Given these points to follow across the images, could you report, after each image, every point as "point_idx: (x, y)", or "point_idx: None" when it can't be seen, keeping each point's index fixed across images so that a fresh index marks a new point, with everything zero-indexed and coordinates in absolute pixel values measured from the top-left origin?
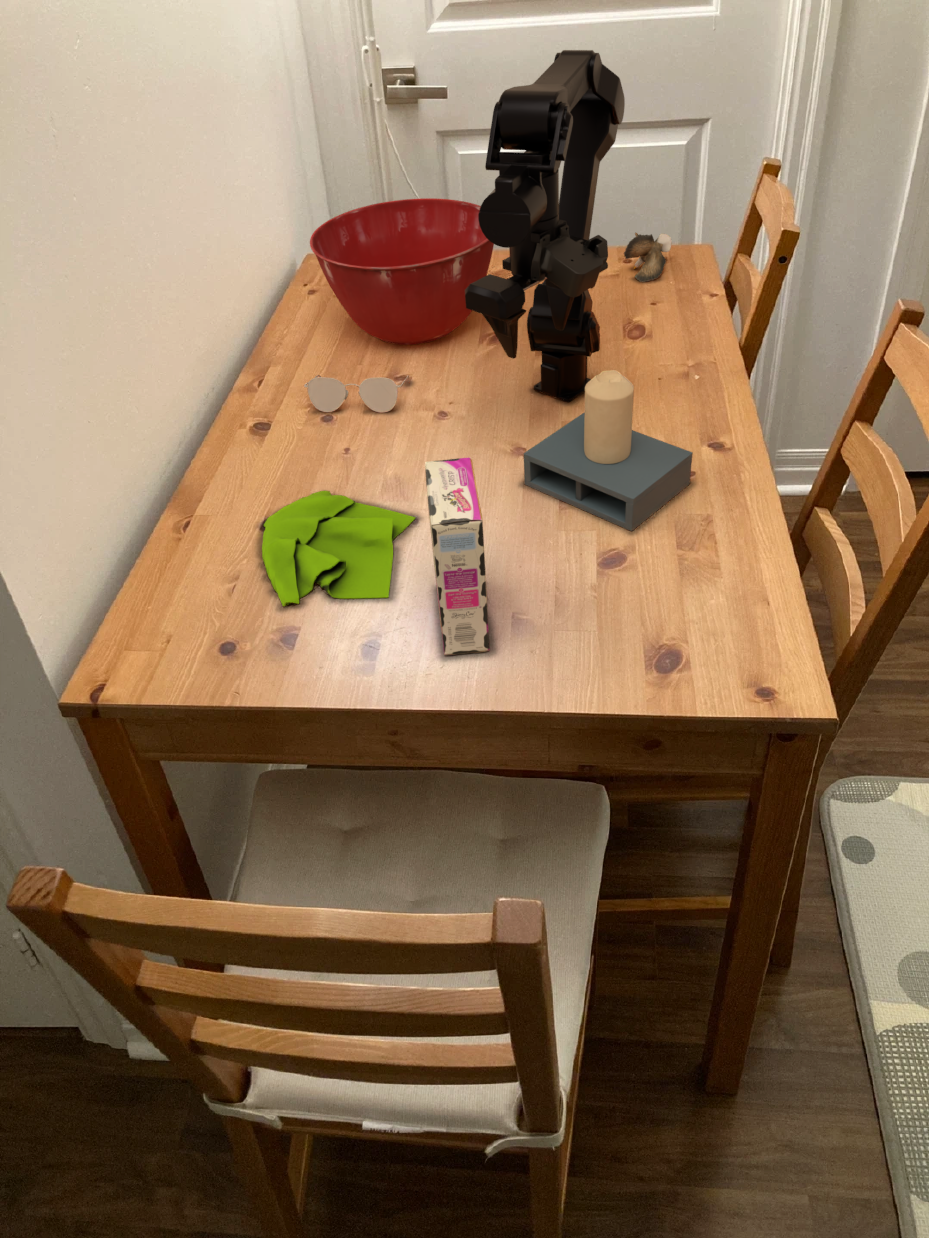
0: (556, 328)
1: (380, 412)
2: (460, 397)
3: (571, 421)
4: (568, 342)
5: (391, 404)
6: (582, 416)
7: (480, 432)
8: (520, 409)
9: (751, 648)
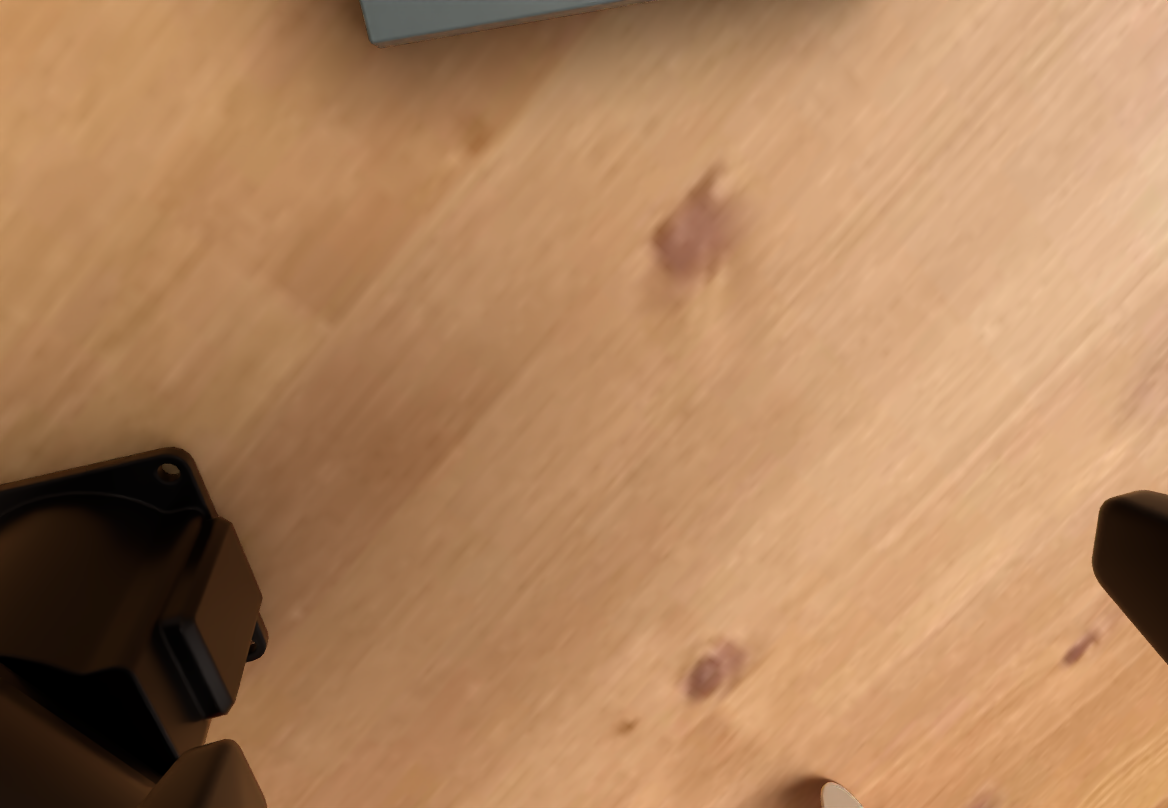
0: (262, 804)
1: (845, 789)
2: (568, 744)
3: (534, 9)
4: (36, 715)
5: (831, 802)
6: (423, 1)
7: (698, 484)
8: (431, 538)
9: None
